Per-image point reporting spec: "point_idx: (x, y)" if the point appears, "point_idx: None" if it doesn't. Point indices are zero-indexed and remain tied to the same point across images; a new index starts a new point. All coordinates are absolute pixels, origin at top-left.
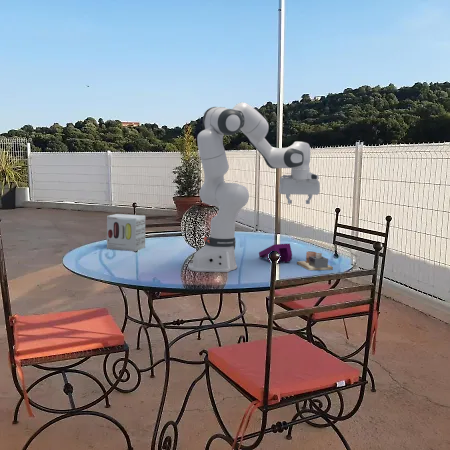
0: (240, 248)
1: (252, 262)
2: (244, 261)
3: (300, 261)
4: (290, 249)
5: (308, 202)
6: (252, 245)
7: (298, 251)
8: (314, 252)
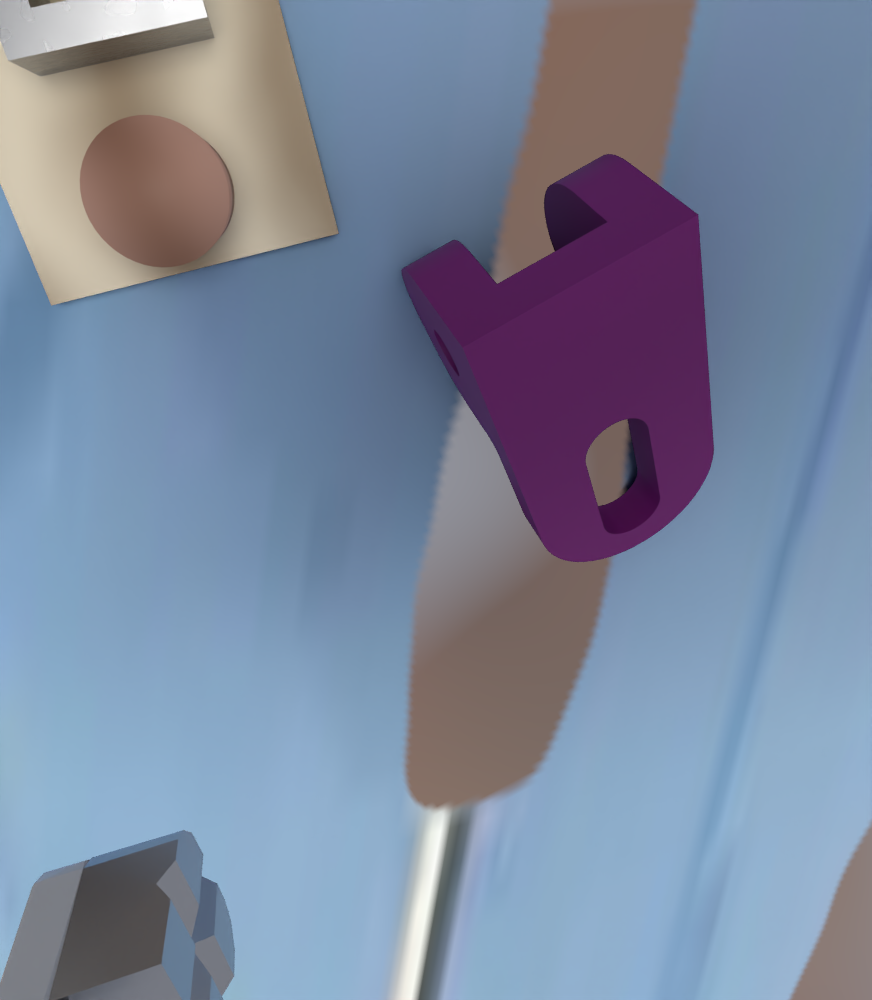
0: (739, 818)
1: (782, 242)
2: (843, 280)
3: (297, 233)
4: (438, 296)
5: (96, 889)
6: (617, 954)
7: (242, 840)
8: (111, 185)
